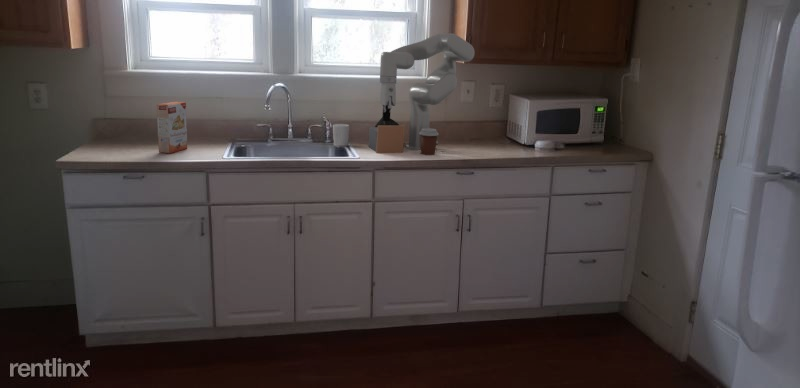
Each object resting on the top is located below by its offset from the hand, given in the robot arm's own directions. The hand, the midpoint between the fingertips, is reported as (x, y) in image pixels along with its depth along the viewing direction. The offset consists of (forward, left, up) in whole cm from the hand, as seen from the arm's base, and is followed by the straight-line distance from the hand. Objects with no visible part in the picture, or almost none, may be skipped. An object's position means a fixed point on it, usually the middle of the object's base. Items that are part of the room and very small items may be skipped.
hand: (386, 120), depth 275 cm
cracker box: (+93, -14, -15) cm, 95 cm away
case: (-1, -6, -15) cm, 16 cm away
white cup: (+17, -21, -15) cm, 30 cm away
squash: (-7, -22, -15) cm, 28 cm away
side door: (-1, +3, -14) cm, 15 cm away
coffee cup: (-18, +7, -15) cm, 25 cm away
